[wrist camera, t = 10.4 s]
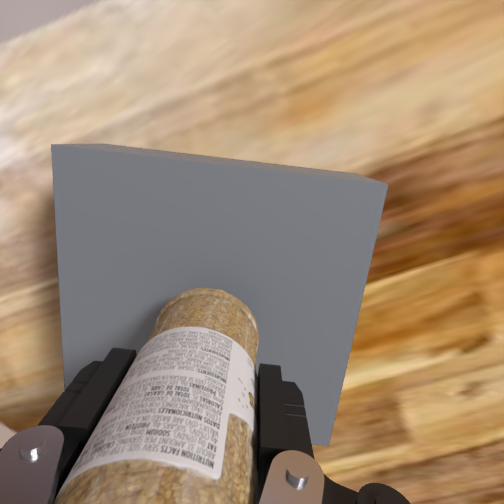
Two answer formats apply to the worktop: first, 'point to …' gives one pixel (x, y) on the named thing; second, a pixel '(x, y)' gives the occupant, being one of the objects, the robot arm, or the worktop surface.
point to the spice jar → (180, 413)
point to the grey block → (214, 255)
